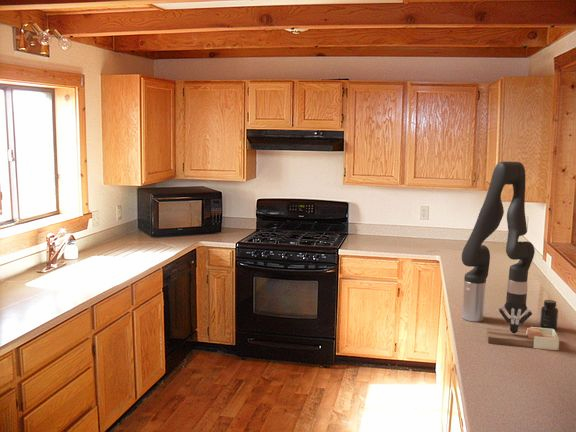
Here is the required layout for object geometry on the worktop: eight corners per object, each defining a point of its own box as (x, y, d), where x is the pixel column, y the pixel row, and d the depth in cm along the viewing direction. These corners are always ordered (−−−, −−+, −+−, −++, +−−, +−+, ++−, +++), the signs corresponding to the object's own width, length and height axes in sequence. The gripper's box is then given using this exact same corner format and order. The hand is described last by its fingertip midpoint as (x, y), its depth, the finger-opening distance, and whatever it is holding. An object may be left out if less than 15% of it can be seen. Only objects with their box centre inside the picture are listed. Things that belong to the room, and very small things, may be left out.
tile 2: (538, 339, 250) (539, 333, 250) (552, 340, 249) (552, 334, 249) (541, 344, 245) (541, 338, 245) (554, 345, 244) (555, 339, 244)
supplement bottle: (543, 324, 271) (546, 297, 269) (559, 328, 266) (561, 301, 264) (536, 328, 266) (539, 301, 264) (552, 332, 261) (555, 304, 259)
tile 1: (525, 333, 251) (527, 327, 250) (538, 336, 250) (540, 330, 250) (528, 337, 246) (529, 331, 245) (541, 340, 245) (542, 334, 245)
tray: (529, 337, 254) (530, 326, 253) (552, 339, 252) (553, 329, 251) (533, 348, 242) (534, 336, 242) (558, 350, 240) (559, 339, 240)
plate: (486, 333, 257) (486, 328, 257) (529, 338, 253) (530, 332, 253) (488, 343, 247) (488, 337, 246) (533, 347, 243) (533, 341, 242)
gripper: (533, 289, 249) (529, 331, 252) (498, 287, 252) (495, 328, 255) (536, 294, 242) (532, 337, 245) (500, 292, 245) (497, 334, 247)
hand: (513, 332), depth 250 cm, fingers closed
